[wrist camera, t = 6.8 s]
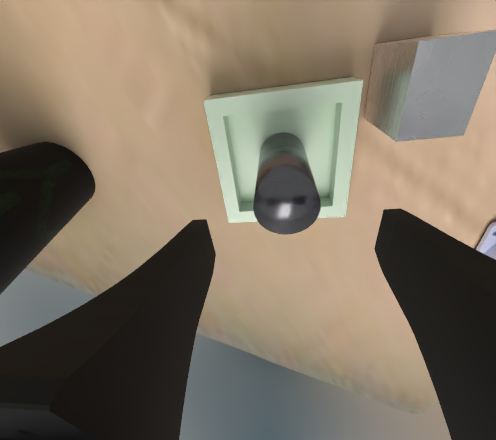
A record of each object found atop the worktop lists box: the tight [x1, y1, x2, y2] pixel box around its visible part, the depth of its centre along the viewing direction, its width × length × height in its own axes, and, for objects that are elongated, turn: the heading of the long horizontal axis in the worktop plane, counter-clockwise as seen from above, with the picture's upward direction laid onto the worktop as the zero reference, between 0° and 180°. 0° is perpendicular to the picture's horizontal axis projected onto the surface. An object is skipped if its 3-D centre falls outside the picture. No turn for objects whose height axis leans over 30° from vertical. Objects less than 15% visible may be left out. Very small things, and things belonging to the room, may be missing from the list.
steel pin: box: [253, 132, 321, 234], centre depth 14 cm, size 3×3×7 cm
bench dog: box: [364, 30, 496, 142], centre depth 12 cm, size 4×3×5 cm
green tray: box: [203, 77, 363, 223], centre depth 17 cm, size 9×9×2 cm
